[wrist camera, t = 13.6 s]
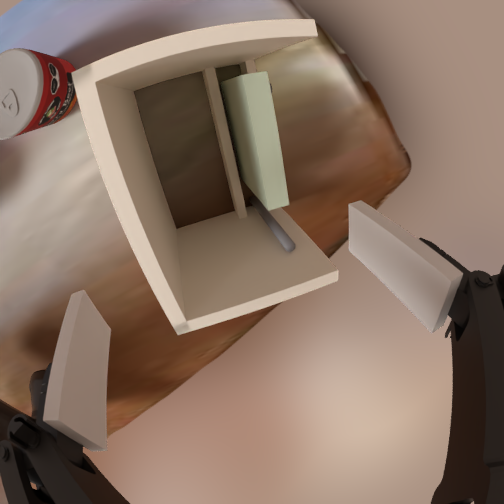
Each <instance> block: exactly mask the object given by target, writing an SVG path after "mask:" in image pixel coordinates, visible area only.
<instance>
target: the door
mask: <svg viewBox="0 0 504 504" xmlns="http://www.w3.org/2000/svg"><path fill="white" fill-rule="evenodd" d="M221 87H222V92H223V96H224V101H225V105H226V110H227V114H228V119H229V123H230V128H231V133H232V137H233V142H234V146H235V151H236V155H237V160H238V165H239V169H240V174H241V178H242V180H243V181H244V183H245V184H246V185H247V186H248V187H249V188H250V189H251V191H252V192H253V193H254V194H255V195H256V197H257V198H258V199H259V200H260V201H261V202H262V204H263V205H264V206H265V207H266V208H267V210H268V211H269V210H273V209H276V208H280V207H283V206H287V205H289V200H288V192H287V185H286V179H285V172H284V165H283V159H282V152H281V146H280V140H279V134H278V128H277V122H276V116H275V110H274V105H273V99H272V86H271V84H270V82H269V78H268V73H267V71H264V72H257V73H251V74H245V75H240V76H237V77H235V78H232V79H229V80H226V81H223V82H221Z"/></svg>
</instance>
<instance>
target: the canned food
mask: <svg viewBox="0 0 504 504" xmlns="http://www.w3.org/2000/svg"><path fill="white" fill-rule="evenodd" d="M74 71H76V69H75V68H74V67H73V65H72V64H70V63H69V62H68V61H65V60H63V59H60V58H57V57H53V56H50V55H47V54H43V53H40V52H36V51H32V50H27V49H21V48H17V49H15V48H14V49H10V50H6V51H4V52H2V53H1V54H0V140H4V139H9V138H12V137H15V136H18V135H21V134H24V133H26V132H29V131H32V130H35V129H38V128H41V127H44V126H48V125H51V124H54V123H57V122H58V121H60V120H62V119H63V118H64V117H65V116H66V115H67V114H68V113H69V112H70V111H71V109H72V108H73V106H74V105H75V103H76V100H77V95H76V91H75V87H74V82H73V78H72V72H74Z"/></svg>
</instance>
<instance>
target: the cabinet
mask: <svg viewBox="0 0 504 504" xmlns="http://www.w3.org/2000/svg"><path fill="white" fill-rule="evenodd" d="M317 36H318V34H317V30H316V25H315V20H314V19H282V20H263V21H251V22H241V23H233V24H226V25H219V26H213V27H207V28H202V29H197V30H192V31H187V32H183V33H179V34H175V35H171V36H167V37H163V38H160V39H156V40H153V41H149V42H146V43H143V44H140V45H137V46H134V47H131V48H128V49H125V50H123V51H120V52H117V53H115V54H112V55H110V56H107V57H105V58H102V59H100V60H98V61H95V62H93V63H91V64H89V65H86V66H84V67H82V68H80V69H78V70H76V71H74V72H72V78H73V82H74V87H75V91H76V95H77V99H78V102H79V106H80V110H81V113H82V117H83V120H84V124H85V127H86V130H87V134H88V137H89V140H90V143H91V146H92V149H93V152H94V155H95V158H96V161H97V164H98V167H99V170H100V172H101V175H102V178H103V180H104V183H105V186H106V188H107V191H108V193H109V196H110V198H111V201H112V203H113V206H114V208H115V211H116V213H117V216H118V218H119V220H120V223H121V225H122V227H123V229H124V232H125V234H126V236H127V238H128V241H129V243H130V245H131V247H132V249H133V251H134V254H135V256H136V258H137V260H138V262H139V264H140V266H141V268H142V270H143V272H144V274H145V276H146V278H147V280H148V282H149V284H150V286H151V288H152V290H153V292H154V293H155V295H156V297H157V299H158V301H159V303H160V305H161V306H162V308H163V310H164V312H165V314H166V316H167V317H168V319H169V321H170V323H171V324H172V326H173V328H174V330H175V331H176V333H177V335H180V334H183V333H187V332H190V331H193V330H197V329H200V328H203V327H207V326H210V325H213V324H216V323H220V322H223V321H226V320H229V319H232V318H235V317H238V316H241V315H245V314H248V313H251V312H254V311H257V310H259V309H262V308H265V307H268V306H271V305H274V304H277V303H280V302H283V301H285V300H288V299H291V298H293V297H296V296H299V295H302V294H305V293H307V292H310V291H313V290H315V289H318V288H321V287H323V286H326V285H329V284H331V283H334V282H336V281H338V269H337V268H336V266H335V265H334V264H333V263H332V262H331V261H330V260H329V259H328V257H327V256H326V255H325V254H324V253H323V252H322V251H321V250H320V249H319V247H318V246H317V245H316V244H315V243H314V242H313V241H312V240H311V239H310V238H309V236H308V235H307V234H306V233H305V232H304V231H303V230H302V229H301V228H300V227H299V226H298V225H297V224H296V222H295V221H294V220H293V219H292V218H291V217H290V216H289V215H288V214H287V213H286V212H285V211H284V210H283V209H282V208H281V207H280V208H276V209H273V210H269V211H268V210H267V208H266V207H265V206H264V205H263V204H262V203H261V202H260V200H259V199H258V198H257V197H256V196H251V197H250V202H251V204H252V205H253V206H250V207H245V202H244V198H243V193H242V189H241V184H240V180H239V175H238V171H237V166H236V161H235V157H234V152H233V148H232V143H231V139H230V134H229V130H228V125H227V121H226V116H225V112H224V107H223V103H222V98H221V94H220V89H219V85H218V80H217V76H216V71H215V68H219V67H224V66H230V65H236V64H240V68H241V73H242V75H245V74H251V73H257V69H256V65H255V59H257V58H260V57H262V56H264V55H267V54H269V53H272V52H274V51H277V50H279V49H282V48H285V47H287V46H290V45H293V44H296V43H299V42H302V41H305V40H308V39H311V38H314V37H317ZM201 71H202V73H203V78H204V82H205V86H206V91H207V95H208V99H209V104H210V108H211V112H212V116H213V121H214V125H215V129H216V134H217V138H218V142H219V146H220V151H221V155H222V159H223V163H224V167H225V172H226V176H227V180H228V184H229V189H230V193H231V197H232V201H233V205H234V209H235V211H233V212H229V213H226V214H223V215H220V216H216V217H213V218H210V219H207V220H203V221H200V222H197V223H194V224H191V225H188V226H184V227H181V228H178V229H176V226H175V223H174V220H173V218H172V215H171V212H170V209H169V206H168V203H167V200H166V197H165V194H164V192H163V189H162V186H161V182H160V179H159V176H158V173H157V170H156V167H155V164H154V161H153V157H152V154H151V151H150V148H149V144H148V141H147V138H146V134H145V131H144V127H143V124H142V120H141V117H140V113H139V109H138V106H137V102H136V98H135V94H134V91H136V90H138V89H141V88H144V87H147V86H150V85H153V84H157V83H160V82H163V81H166V80H170V79H173V78H177V77H181V76H184V75H188V74H192V73H196V72H201Z"/></svg>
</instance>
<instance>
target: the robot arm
mask: <svg viewBox="0 0 504 504" xmlns="http://www.w3.org/2000/svg"><path fill="white" fill-rule="evenodd" d="M349 251H350V252H351V253H352V254H353V255H354V256H355V257H356V258H357V259H358V260H359V261H361V262H362V263H363V264H364V265H365V266H366V267H367V268H368V269H369V270H370V271H371V272H372V273H373V274H374V275H375V276H376V277H377V278H378V279H379V280H380V281H381V282H383V284H384V285H385V286H386V287H387V288H388V289H389V290H390V291H391V292H393V294H394V295H395V296H396V297H397V298H398V299H399V300H400V301H401V302H402V303H403V304H404V305H405V306H406V307H407V308H408V309H409V310H410V311H411V312H412V313H413V314H414V315H415V316H416V317H417V318H418V320H419V321H420V322H421V323H422V324H423V325H424V326H425V327H426V328H427V329H428V330H429V331H430V333H433V332H435V331H436V330H437V329H439V328H440V327H442V326H443V325H444V323H445V320H446V318H447V315H449V316H450V317H451V318H452V321H451V322H450V325H449V327H448V329H447V331H446V333H445V338H447V337H448V334H449V332H450V331H451V336H450V338H451V342H452V359H453V360H452V361H453V395H452V397H453V398H452V416H451V427H450V437H449V445H448V452H447V458H446V464H445V470H444V475H443V479H442V481H441V483H440V484H439V486H438V487H437V489H436V490H435V492H434V495H433V498H432V501H431V504H471V502H473V501H474V504H504V265H503V267H502V269H501V272H500V274H498V275H493V276H490V275H489V274H488V273H486V272H483V271H479V270H478V271H473V272H470V271H468V270H467V269H466V268H465V267H463V266H462V265H461V264H460V263H458V262H457V261H456V260H455V259H453V258H452V257H451V256H449V255H448V254H446V253H445V252H444V251H443V250H440V248H439V247H437V246H436V245H435V244H433V243H432V242H430V241H428V240H425V239H423V238H419V239H418V238H416V237H415V236H414V235H412V234H411V233H410V232H408V231H407V230H405V229H404V228H402V227H401V226H399V225H398V224H397V223H395V222H393V221H392V220H391V219H389V218H388V217H386V216H385V215H383V214H382V213H380V212H378V211H377V210H375V209H374V208H372V207H371V206H369V205H368V204H366V203H364V202H363V201H361V200H360V201H357V202H354V203H350V204H349ZM110 336H111V329H110V327H109V326H108V324H107V323H106V322H105V320H104V319H103V317H102V316H101V315H100V313H99V312H98V310H97V309H96V307H95V306H94V304H93V303H92V301H91V300H90V298H89V297H88V295H87V293H86V292H85V290H81V291H78V292H76V293H73V294H72V295H71V298H70V301H69V304H68V307H67V310H66V313H65V316H64V320H63V323H62V327H61V330H60V334H59V338H58V342H57V346H56V350H55V354H54V358H53V363H49V365H48V367H47V369H46V371H38V372H35V373H34V374H33V375H32V376H31V380H30V384H29V388H30V392H31V402H32V417H30V416H28V415H26V414H24V413H23V412H21V411H19V410H17V409H16V408H14V407H12V406H10V405H9V404H7V403H6V402H4V401H2V400H1V399H0V504H130V503H129V502H128V501H127V500H126V499H125V498H124V497H123V496H122V495H121V494H120V493H119V492H118V491H117V490H116V489H115V488H114V487H113V486H112V485H111V483H110V482H109V481H108V480H107V479H106V478H105V477H104V475H103V474H102V473H101V472H100V471H99V470H98V468H97V467H96V466H95V465H94V464H93V462H92V461H91V460H90V459H89V457H88V456H86V454H84V453H83V447H85V448H87V449H89V450H91V451H107V430H106V397H107V372H108V358H109V346H110ZM30 482H32V483H34V484H36V487H37V490H35V489H33V488H32V487H31V483H30Z"/></svg>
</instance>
